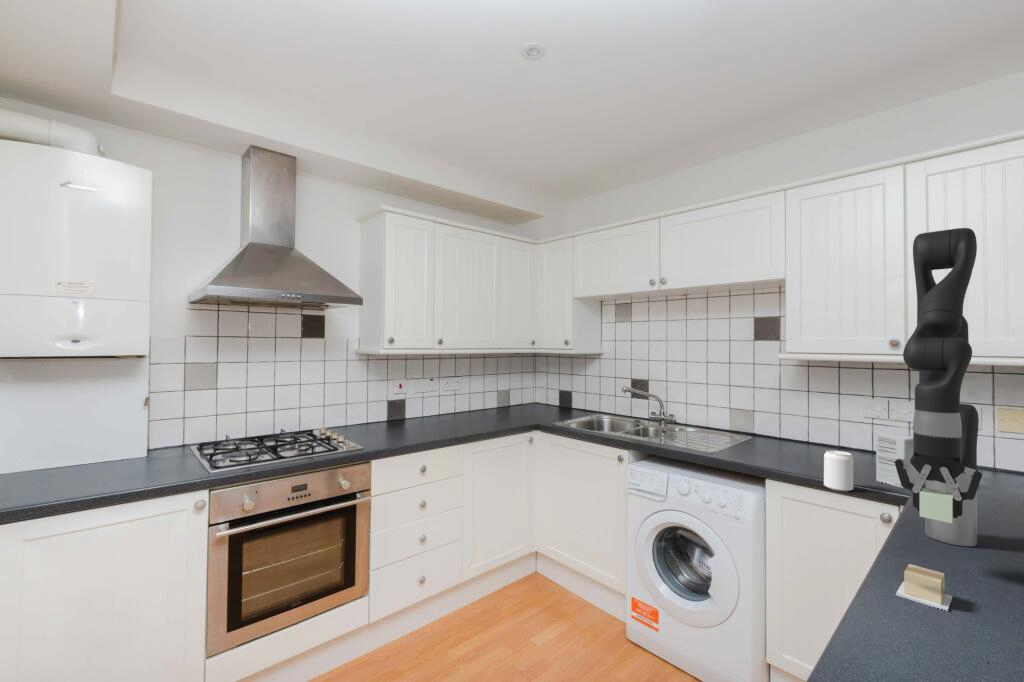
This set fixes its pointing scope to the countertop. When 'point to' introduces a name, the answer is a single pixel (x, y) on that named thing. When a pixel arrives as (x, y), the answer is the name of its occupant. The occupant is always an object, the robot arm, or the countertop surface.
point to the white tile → (944, 604)
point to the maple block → (924, 584)
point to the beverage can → (838, 470)
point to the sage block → (936, 505)
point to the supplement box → (893, 458)
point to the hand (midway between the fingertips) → (937, 513)
